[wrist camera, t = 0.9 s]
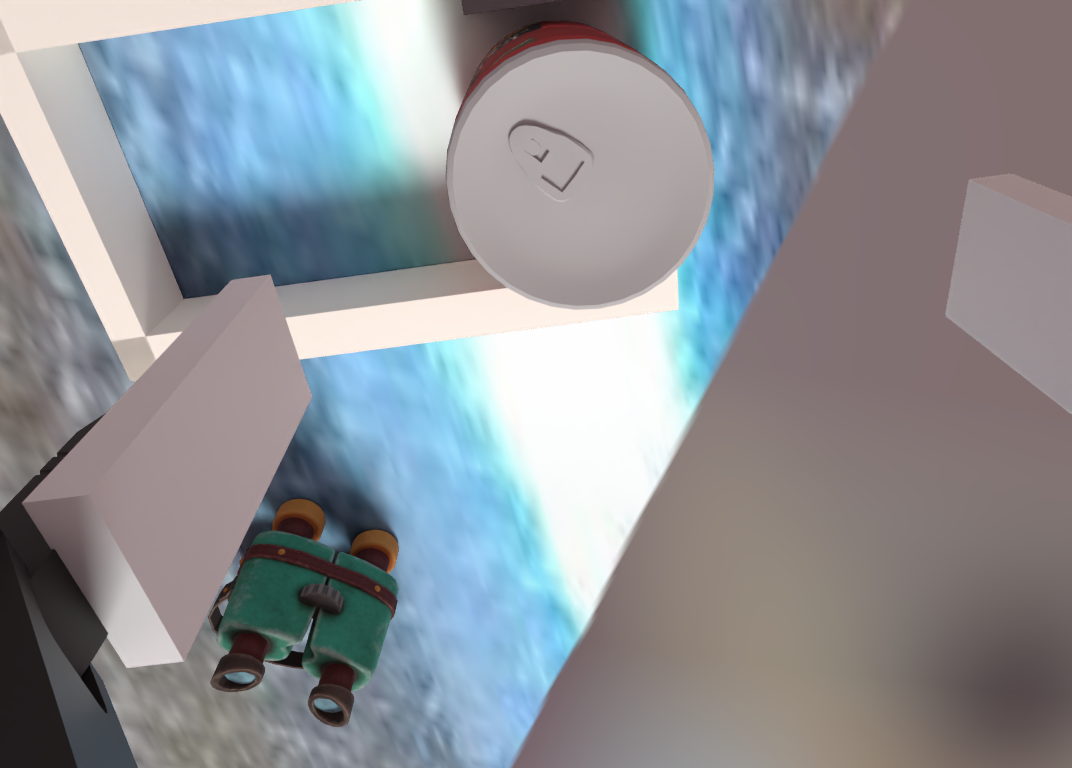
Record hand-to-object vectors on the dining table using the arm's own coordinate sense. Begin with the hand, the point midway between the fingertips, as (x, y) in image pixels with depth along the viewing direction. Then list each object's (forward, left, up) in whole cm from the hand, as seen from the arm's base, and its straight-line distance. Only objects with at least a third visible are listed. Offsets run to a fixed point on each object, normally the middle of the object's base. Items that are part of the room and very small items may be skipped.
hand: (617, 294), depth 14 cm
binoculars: (+23, -17, -19) cm, 34 cm away
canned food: (0, 0, -19) cm, 19 cm away
